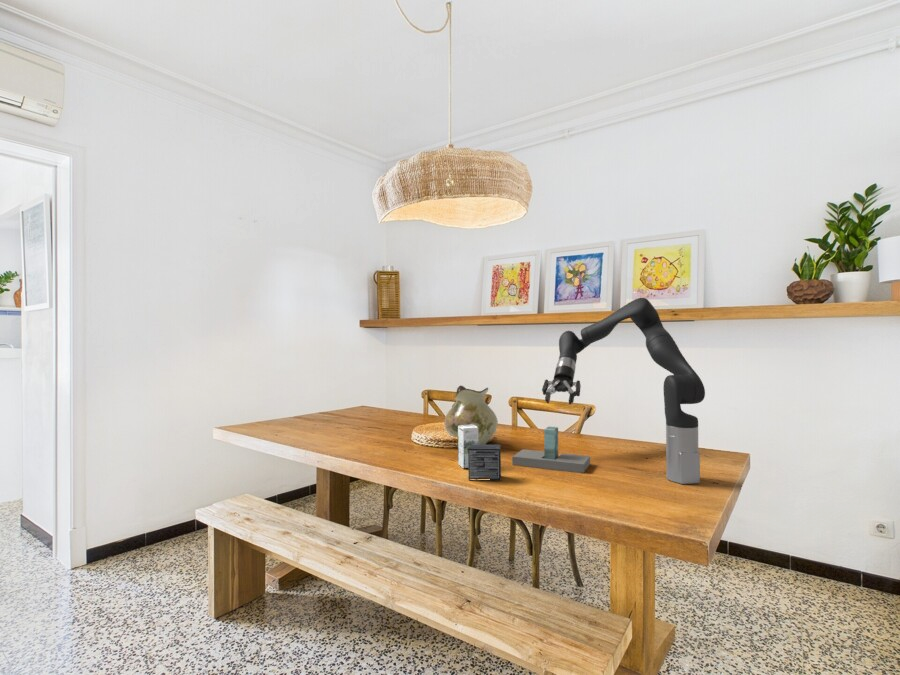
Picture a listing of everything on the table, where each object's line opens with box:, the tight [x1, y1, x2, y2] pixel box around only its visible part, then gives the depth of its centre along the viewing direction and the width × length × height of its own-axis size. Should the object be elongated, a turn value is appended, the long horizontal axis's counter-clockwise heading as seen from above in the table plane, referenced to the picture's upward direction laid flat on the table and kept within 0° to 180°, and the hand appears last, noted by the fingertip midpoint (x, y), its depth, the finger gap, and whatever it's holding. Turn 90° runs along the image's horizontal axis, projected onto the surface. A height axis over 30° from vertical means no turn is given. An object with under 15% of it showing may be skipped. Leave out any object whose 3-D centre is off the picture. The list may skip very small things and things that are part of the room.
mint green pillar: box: [543, 425, 559, 460], centre depth 171 cm, size 6×4×13 cm, turn 154°
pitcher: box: [444, 385, 498, 445], centre depth 202 cm, size 22×24×25 cm
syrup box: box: [457, 425, 478, 469], centre depth 169 cm, size 6×6×14 cm
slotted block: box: [511, 448, 591, 474], centre depth 171 cm, size 12×25×3 cm, turn 64°
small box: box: [467, 444, 502, 481], centre depth 155 cm, size 11×6×10 cm, turn 84°
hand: (558, 402), depth 181 cm, fingers open, 8 cm apart
